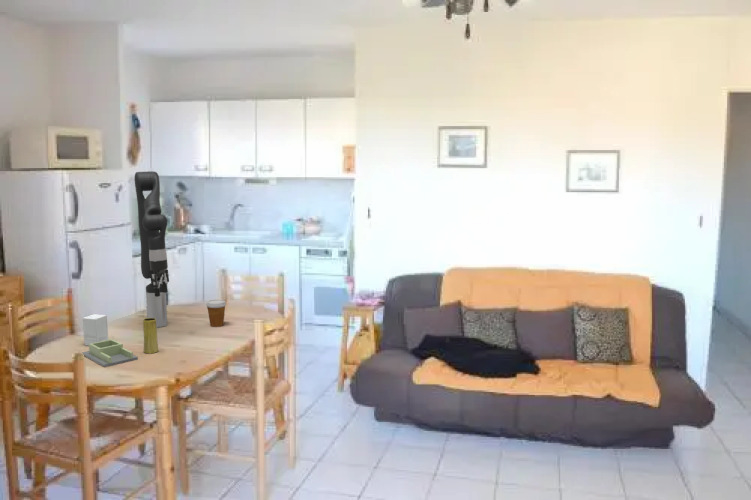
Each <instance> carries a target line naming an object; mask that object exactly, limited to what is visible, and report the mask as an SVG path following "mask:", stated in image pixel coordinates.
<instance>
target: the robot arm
mask: <svg viewBox="0 0 751 500" xmlns="http://www.w3.org/2000/svg"><path fill="white" fill-rule="evenodd" d="M134 187H135V194H136V201H137V214H138V217H137V219H138V231H139V238H140V271H141V274H142V277H143V278H144V279H146V280H148V279H150V283H149V284H147V285H145V298H146V301H145V302H146V318H155V319H156V328H157V329H158V328H163V327H166V326H168V313H167V311H168V309H167V307H168V306H167V293H168V292H169V291H168V283H169V282H170V277H169V270H168V268H169V267H168V265H169V264H168V255H167V250H166V231H167V227H168V218H167V216H166V215H165V214H164V213H163V214H162V207H161V200H160V198H161V197H160V196H161V186H160V177H159V173H158V172H157V171H152V170H151V171H150V170H149V171H136V172H135V174H134ZM144 192H150V193H149V194H147V196H146V198H145V194H144Z"/></svg>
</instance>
